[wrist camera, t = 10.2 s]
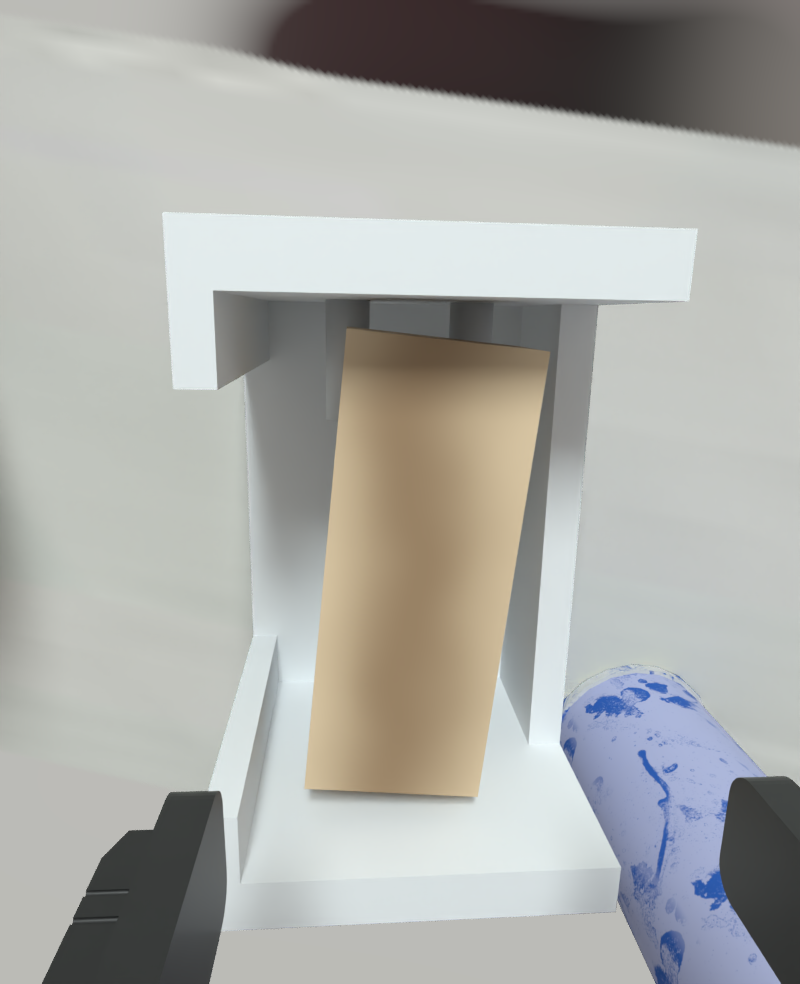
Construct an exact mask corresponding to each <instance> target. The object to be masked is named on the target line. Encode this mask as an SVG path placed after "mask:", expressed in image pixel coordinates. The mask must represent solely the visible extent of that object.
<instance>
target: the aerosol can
mask: <svg viewBox="0 0 800 984" xmlns="http://www.w3.org/2000/svg"><path fill="white" fill-rule="evenodd" d="M560 746H561V748H562V750H563V752H564V754H565V756H566V758H567V760H568V762H569V764H570V766H571V768H572V770H573V772H574V774H575V776H576V778H577V780H578V782H579V784H580V786H581V788H582V790H583V792H584V794H585V796H586V798H587V800H588V802H589V804H590V806H591V808H592V810H593V812H594V814H595V816H596V818H597V820H598V822H599V824H600V826H601V828H602V830H603V832H604V834H605V836H606V838H607V840H608V842H609V844H610V846H611V848H612V850H613V852H614V854H615V856H616V858H617V860H618V862H619V864H620V866H621V873H620V881H619V889H618V898H617V901H618V903H619V905H620V907H621V909H622V912H623V914H624V916H625V918H626V920H627V922H628V925H629V927H630V929H631V931H632V933H633V935H634V937H635V940H636V942H637V944H638V946H639V948H640V951H641V953H642V955H643V957H644V959H645V961H646V963H647V966H648V968H649V970H650V972H651V974H652V976H653V979H654V981H655V983H656V984H781V983H780V981H779V980H778V978H777V977H776V975H775V973H774V972H773V970H772V969H771V967H770V966H769V964H768V962H767V961H766V959H765V958H764V956H763V955H762V953H761V951H760V950H759V948H758V947H757V945H756V944H755V942H754V940H753V939H752V937H751V936H750V934H749V933H748V931H747V929H746V928H745V926H744V925H743V923H742V922H741V920H740V918H739V917H738V915H737V914H736V912H735V911H734V909H733V908H732V906H731V904H730V902H729V900H728V898H727V896H726V893H725V891H724V888H723V885H722V880H721V876H720V868H719V858H720V850H721V843H722V837H723V830H724V823H725V817H726V810H727V803H728V797H729V791H730V786H731V784H732V782H733V781H734V780H735V779H736V778H739V777H767V776H766V775H765V774H764V773H763V771H762V770H761V769H760V768H759V767H758V766H757V765H756V764H755V763H754V762H753V760H752V759H751V758H750V757H749V756H748V755H747V754H746V753H745V752H744V751H743V750H742V748H741V747H740V746H739V745H738V744H737V743H736V742H735V741H734V740H733V739H732V737H731V736H730V735H729V734H728V733H727V732H726V731H725V730H724V729H723V728H722V726H721V725H720V724H719V723H718V722H717V721H716V720H715V719H714V718H713V717H712V716H711V714H710V713H709V712H708V711H707V710H706V709H705V707H704V705H703V703H702V701H701V699H700V697H699V695H698V694H697V693H696V692H695V691H694V690H693V689H692V688H691V687H690V686H689V685H688V684H686V683H685V682H684V681H683V680H682V679H681V678H680V677H679V676H677V675H675V674H673V673H670V672H668V671H666V670H663V669H661V668H659V667H654V666H643V665H627V666H622V667H618V668H613V669H608V670H605V671H603V672H601V673H599V674H597V675H595V676H594V677H592V678H590V679H588V680H586V681H584V682H583V683H581V684H580V685H579V686H578V687H577V688H576V689H575V690H574V691H573V692H572V693H571V694H570V695H569V696H568V697H566V698H565V699H564V701H563V711H562V723H561V734H560Z"/></svg>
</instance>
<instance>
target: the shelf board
mask: <svg viewBox="0 0 800 984" xmlns="http://www.w3.org/2000/svg"><path fill="white" fill-rule="evenodd" d="M549 357H550V352H549V351H543V350H537V349H532V348H526V347H520V346H512V345H504V344H495V343H487V342H478V341H469V340H461V339H452V338H443V337H435V336H426V335H417V334H409V333H400V332H391V331H383V330H374V329H365V328H357V327H348V326H347V329H346V340H345V350H344V361H343V372H342V383H341V394H340V405H339V416H338V426H337V437H336V448H335V459H334V470H333V481H332V492H331V502H330V513H329V524H328V535H327V546H326V557H325V568H324V578H323V589H322V600H321V611H320V622H319V633H318V644H317V654H316V665H315V676H314V687H313V698H312V709H311V720H310V731H309V742H308V753H307V764H306V775H305V786H304V789H319V790H340V791H361V792H382V793H404V794H425V795H446V796H467V797H478V792H479V786H480V780H481V773H482V767H483V761H484V755H485V749H486V743H487V737H488V731H489V725H490V718H491V712H492V706H493V700H494V694H495V688H496V682H497V676H498V669H499V663H500V657H501V651H502V645H503V639H504V633H505V627H506V620H507V614H508V608H509V602H510V596H511V590H512V584H513V578H514V572H515V565H516V559H517V553H518V547H519V541H520V535H521V529H522V523H523V516H524V510H525V504H526V498H527V492H528V486H529V480H530V474H531V467H532V461H533V455H534V449H535V443H536V437H537V431H538V425H539V419H540V412H541V406H542V400H543V394H544V388H545V382H546V376H547V370H548V363H549Z"/></svg>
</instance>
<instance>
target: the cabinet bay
mask: <svg viewBox="0 0 800 984" xmlns="http://www.w3.org/2000/svg"><path fill="white" fill-rule="evenodd" d="M162 219H163V235H164V251H165V267H166V283H167V299H168V315H169V331H170V347H171V363H172V379H173V389H197V390H218V389H220V388H221V387H223V386H225V385H227V384H228V383H230V382H232V381H234V380H235V379H237V378H239V377H241V376H242V375H244V392H245V420H246V447H247V474H248V502H249V529H250V556H251V583H252V611H253V639H252V642H251V646H250V649H249V653H248V656H247V659H246V663H245V666H244V670H243V673H242V677H241V680H240V683H239V687H238V690H237V694H236V697H235V700H234V704H233V707H232V711H231V714H230V718H229V721H228V724H227V728H226V731H225V735H224V738H223V741H222V745H221V748H220V752H219V755H218V759H217V762H216V765H215V769H214V772H213V776H212V779H211V782H210V786H209V789H208V791H220V792H221V795H222V801H223V817H224V834H225V850H226V867H227V892H226V904H225V912H224V919H223V924H222V928H221V931H236V930H257V929H277V928H297V927H318V926H339V925H360V924H380V923H401V922H421V921H442V920H461V919H482V918H503V917H524V916H544V915H565V914H586V913H605V912H616V906H617V898H618V889H619V881H620V873H621V866H620V864H619V862H618V860H617V858H616V856H615V854H614V852H613V850H612V848H611V846H610V844H609V842H608V840H607V838H606V836H605V834H604V832H603V830H602V828H601V826H600V824H599V822H598V820H597V818H596V816H595V814H594V812H593V810H592V808H591V806H590V804H589V802H588V800H587V798H586V796H585V794H584V792H583V790H582V788H581V786H580V784H579V782H578V780H577V778H576V776H575V774H574V772H573V770H572V768H571V766H570V764H569V762H568V760H567V758H566V756H565V754H564V752H563V750H562V748H561V746H560V734H561V723H562V711H563V700H564V689H565V677H566V666H567V655H568V643H569V632H570V621H571V609H572V598H573V587H574V575H575V564H576V553H577V542H578V530H579V519H580V508H581V496H582V485H583V474H584V462H585V451H586V440H587V428H588V417H589V406H590V395H591V383H592V372H593V361H594V349H595V338H596V327H597V315H598V305H614V304H638V303H661V302H684V301H689V298H690V289H691V281H692V273H693V264H694V256H695V248H696V239H697V231H698V229H686V228H654V227H622V226H590V225H558V224H526V223H494V222H463V221H431V220H399V219H367V218H335V217H303V216H271V215H240V214H208V213H176V212H162ZM347 326H348V327H357V328H365V329H374V330H383V331H391V332H400V333H409V334H417V335H426V336H435V337H443V338H452V339H461V340H469V341H478V342H487V343H495V344H504V345H512V346H520V347H526V348H532V349H537V350H543V351H549V352H550V357H549V363H548V370H547V376H546V382H545V388H544V394H543V400H542V406H541V412H540V419H539V425H538V431H537V437H536V443H535V449H534V455H533V461H532V467H531V474H530V480H529V486H528V492H527V498H526V504H525V510H524V516H523V523H522V529H521V535H520V541H519V547H518V553H517V559H516V565H515V572H514V578H513V584H512V590H511V596H510V602H509V608H508V614H507V620H506V627H505V633H504V639H503V645H502V651H501V657H500V663H499V669H498V676H497V682H496V688H495V694H494V700H493V706H492V712H491V718H490V725H489V731H488V737H487V743H486V749H485V755H484V761H483V767H482V773H481V780H480V786H479V792H478V797H467V796H446V795H425V794H404V793H382V792H361V791H340V790H319V789H304V786H305V775H306V764H307V753H308V742H309V731H310V720H311V709H312V698H313V687H314V676H315V665H316V654H317V644H318V633H319V622H320V611H321V600H322V589H323V578H324V568H325V557H326V546H327V535H328V524H329V513H330V502H331V492H332V481H333V470H334V459H335V448H336V437H337V426H338V416H339V405H340V394H341V383H342V372H343V361H344V350H345V340H346V329H347Z"/></svg>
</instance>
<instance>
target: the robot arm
mask: <svg viewBox="0 0 800 984" xmlns="http://www.w3.org/2000/svg"><path fill="white" fill-rule="evenodd" d="M719 868H720V876H721V880H722V885H723V888H724V891H725V893H726V896H727V898H728V900H729V902H730V904H731V906H732V908H733V909H734V911H735V912H736V914H737V915H738V917H739V918H740V920H741V922H742V923H743V925H744V926H745V928H746V929H747V931H748V933H749V934H750V936H751V937H752V939H753V940H754V942H755V944H756V945H757V947H758V948H759V950H760V951H761V953H762V955H763V956H764V958H765V959H766V961H767V962H768V964H769V966H770V967H771V969H772V970H773V972H774V973H775V975H776V977H777V978H778V980H779V981H780V983H781V984H800V787H799V786H798V785H797V784H796V783H795V782H794V781H793V780H791V779H790V778H788V777H785V776H773V777H739V778H736V779H735V780H734V781H733V782H732V784H731V786H730V791H729V797H728V803H727V810H726V817H725V823H724V830H723V837H722V843H721V850H720V858H719ZM226 892H227V867H226V850H225V834H224V817H223V801H222V795H221V792H220V791H194V792H170V793H169V795H168V796H167V798H166V800H165V803H164V805H163V807H162V810H161V812H160V815H159V817H158V820H157V822H156V825H155V827H154V830H136V831H135V830H132V831H128V832H127V833H126V834H125V836H123V837H122V838H121V839H120V840H119V841H118V842H117V843H116V844H115V845H114V846H113V847H112V849H110V850H109V852H107V853H106V854H105V855H104V856H103V857H102V859H101V861H100V863H99V865H98V867H97V869H96V871H95V873H94V875H93V878H92V880H91V882H90V884H89V886H88V888H87V890H86V896H85V897H83V898H82V901H81V903H80V905H79V907H78V909H77V911H76V913H75V915H74V917H73V924H72V925H70V926H69V928H68V930H67V932H66V934H65V936H64V938H63V941H62V942H61V945H60V947H59V949H58V951H57V953H56V955H55V957H54V959H53V961H52V963H51V966H50V968H49V970H48V972H47V974H46V976H45V978H44V980H43V982H42V984H209V982H210V977H211V973H212V968H213V964H214V960H215V955H216V951H217V946H218V942H219V937H220V933H221V928H222V924H223V919H224V912H225V904H226Z"/></svg>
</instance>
